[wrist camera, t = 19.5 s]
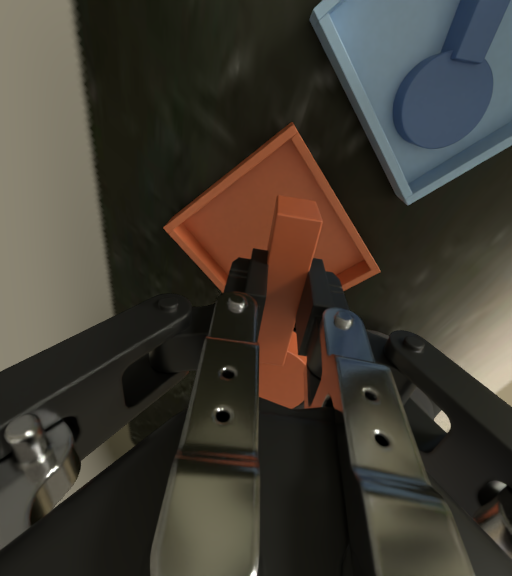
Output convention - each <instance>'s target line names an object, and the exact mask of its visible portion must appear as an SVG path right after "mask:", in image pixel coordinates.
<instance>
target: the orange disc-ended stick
mask: <svg viewBox="0 0 512 576" xmlns="http://www.w3.org/2000/svg"><path fill="white" fill-rule="evenodd" d="M322 223H323V221H322V218H321V215H320V212H319V209H318V207H317V204H316V202H315V201H312V200H305V199H299V198H293V197H287V196H281V195H277V197H276V203H275V208H274V214H273V219H272V225H271V231H270V236H269V242H268V247H267V250H268V257H267V264H268V265H269V266H268V281H267V295H266V301H265V306H264V311H263V317H262V322H261V327H260V332H259V337H258V343H259V345H260V354H259V397H261V398H264V399H266V400H269V401H271V402H274V403H277V404H279V405H282V406H284V407H287V408H290V409H293V408H294V407H296V406H298V405H299V404H300V403H302V402H303V401H304V368H305V365H306V362H307V356H301V355H298V349H297V334H296V333H295V332H294V331H293V329H294V326H295V322H296V319H295V318H296V314H297V310H298V307H299V303H300V299H301V296H302V292H303V289H304V285H305V281H306V278H307V274H308V271H310V267H311V263H312V260H313V256H314V253H315V249H316V245H317V242H318V238H319V234H320V231H321V227H322Z"/></svg>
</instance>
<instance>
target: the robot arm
mask: <svg viewBox="0 0 512 576" xmlns="http://www.w3.org/2000/svg"><path fill="white" fill-rule="evenodd" d="M267 257H268V250H262V249H256V248H253V250H252V255H251V259H247V258H241V257H238V258H237V259H236V260H234V261H233V262H232V264H231V268H230V271H229V275H228V278H227V282H226V285H225V288H224V292H223V294H221V295H220V296H218V298H217V299H216V303H214V304H212V305H209V306H202V307H192V305H191V303H190V301H189V300H188V299H187V298H185V297H184V296H181V295H178V294H160V295H157V296H155V297H152V298H150V299H148V300H146V301H144V302H142V303H140V304H138V305H136V306H134V307H132V308H130V309H128V310H126V311H124V312H122V313H120V314H118V315H115V316H113V317H111V318H109V319H107V320H105V321H103V322H101V323H99V324H97V325H95V326H93V327H91V328H89V329H87V330H85V331H83V332H81V333H79V334H77V335H75V336H72V337H70V338H69V339H66V340H64V341H62V342H60V343H58V344H56V345H54V346H52V347H50V348H48V349H46V350H44V351H42V352H40V353H38V354H36V355H34V356H31V357H29V358H27V359H25V360H23V361H21V362H19V363H18V364H15V365H13V366H11V367H9V368H7V369H5V370H3V371H1V372H0V576H512V407H511V406H510V405H508V404H507V403H506V402H505V401H503V400H502V399H501V398H499V397H498V396H497V395H496V394H494V393H493V392H492V391H490V390H489V389H488V388H487V387H485V386H484V385H483V384H481V383H480V382H479V381H478V380H476V379H475V378H474V377H472V376H471V375H470V374H469V373H467V372H466V371H465V370H463V369H462V368H461V367H460V366H458V365H457V364H456V363H454V362H453V361H452V360H451V359H449V358H448V357H447V356H445V355H444V354H443V353H442V352H440V351H439V350H438V349H436V348H435V347H434V346H433V345H431V344H430V343H429V342H427V341H426V340H425V339H423V338H422V337H420V336H418V335H416V334H414V333H411V332H408V331H394V332H392V333H391V335H390V336H389V338H388V339H386V338H383V337H381V336H378V335H375V334H372V333H370V332H368V331H366V329H365V326H364V323H363V321H362V319H361V318H360V317H359V316H357V315H356V314H355V313H353V312H351V311H350V310H349V307H348V304H347V301H346V298H345V294H344V291H343V288H342V285H341V282H340V279H339V278H338V277H337V276H336V275H335V274H334V273H333V272H327V271H325V267H324V263H323V260H322V259H317V258H313V260H312V263H311V267H310V271H308V274H307V278H306V281H305V285H304V289H303V292H302V296H301V299H300V303H299V307H298V310H297V314H296V318H295V319H296V334H297V349H298V355H301V356H307V362H306V365H305V368H304V409H290V408H287V407H284V406H282V405H279V404H277V403H274V402H271V401H269V400H266V399H264V398H261V397H259V354H260V345H259V343H258V337H259V332H260V327H261V322H262V317H263V311H264V306H265V301H266V295H267V281H268V266H269V265H268V264H267ZM147 353H148V354H147ZM144 355H145V356H144ZM133 362H134V363H133ZM193 370H197V373H196V377H195V381H194V385H193V389H192V393H191V398H190V402H189V406H188V409H185V410H183V411H182V412H180V413H178V414H177V415H175V416H173V417H172V418H171V419H169V420H168V421H167V422H165V423H164V424H163V425H162V426H160V427H159V428H158V429H156V430H155V431H154V432H152V433H151V434H150V435H149V436H147V437H146V438H145V439H143V440H142V441H141V442H140V443H138V444H137V445H136V446H134V447H133V448H132V449H131V450H129V451H128V452H127V453H125V454H124V455H123V456H121V457H120V458H119V459H118V460H116V461H115V462H114V463H112V464H111V465H110V466H108V467H107V468H106V469H105V470H103V471H102V472H101V473H99V474H98V475H97V476H96V477H94V478H93V479H92V480H90V481H89V482H88V483H86V484H85V485H84V486H83V487H81V488H80V489H79V490H77V491H76V492H75V493H74V494H72V495H71V496H70V497H68V498H67V499H66V500H64V501H63V502H62V503H61V504H59V505H58V506H57V507H55V505H56V504H57V503H58V502H59V501H60V500H61V499H62V498H63V497H64V496H65V494H66V493H67V492H68V491H69V490H70V488H71V487H72V486H73V485H74V483H75V481H76V480H77V477H78V475H79V472H80V468H81V460H83V459H84V458H85V457H86V456H88V455H89V454H90V453H91V452H92V451H94V450H95V449H96V448H97V447H99V446H100V445H101V444H102V443H104V442H105V441H106V440H107V439H109V438H110V437H111V436H112V435H114V434H115V433H116V432H117V431H119V430H120V429H121V428H122V427H124V426H125V425H126V424H127V423H129V422H130V421H131V420H132V419H134V418H135V417H136V416H137V415H139V414H140V413H141V412H142V411H144V410H145V409H146V408H147V407H148V406H150V405H151V404H152V403H153V402H155V401H156V400H157V399H158V398H160V397H161V396H162V395H163V394H165V393H166V392H167V391H168V390H170V389H171V388H172V387H173V386H175V385H176V384H177V383H178V382H180V381H181V380H182V379H183V378H184V377H185V376H186V375H187V374H188V372H189V371H193ZM416 387H418V388H419V389H420V390H421V391H422V392H423V393H424V394H425V395H426V396H427V397H428V398H429V399H431V400H432V401H433V402H434V403H435V404H436V405H437V406H438V407H439V408H440V409H441V410H442V411H443V412H444V413H445V414H446V415H447V416H448V418H449V420H450V423H451V429H450V431H449V432H448V433H446V432H445V431H444V430H443V429H442V428H441V427H440V426H439V425H438V424H436V423H435V422H434V421H433V420H432V419H431V418H430V417H429V416H428V415H427V414H426V413H425V412H424V411H423V410H422V409H421V408H420V407H419V406H418V405H417V404H416V403H415V402H414V401H413V400H412V399H411V398H410V396H411V394H412V393H413V391H414V390H415V388H416ZM54 507H55V508H54ZM53 508H54V509H53Z"/></svg>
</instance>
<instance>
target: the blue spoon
mask: <svg viewBox="0 0 512 576" xmlns="http://www.w3.org/2000/svg"><path fill="white" fill-rule="evenodd" d="M510 1H511V0H460V3H459V5H458V8H457V10H456V13H455V16H454V18H453V21H452V24H451V26H450V29H449V31H448V34H447V37H446V39H445V42H444V45H443V47H442V50H441V52H440V53H438V54H435V55H432V56H430V57H428V58H426V59H424V60H423V61H421V62H420V63H418V64H417V65H416V66H415V67H414V68H413V69H412V70H411V71H410V72H409V73H408V74H407V76H406V77H405V78H404V80H403V81H402V83H401V85H400V86H399V88H398V91H397V93H396V96H395V99H394V104H393V121H394V125H395V128H396V130H397V132H398V133H399V135H400V136H401V137H402V138H403V139H404V140H405V141H407V142H409V143H411V144H414V145H416V146H419V147H422V148H426V149H439V148H444V147H447V146H450V145H452V144H454V143H456V142H458V141H459V140H461V139H462V138H464V137H465V136H466V135H468V134H469V133H470V132H471V131H472V130H473V129H474V128H475V127H476V126H477V124H478V123H479V122H480V121H481V119H482V118H483V116H484V114H485V112H486V111H487V108H488V106H489V104H490V101H491V98H492V93H493V74H492V70H491V68H490V65H489V64H488V62H487V61H486V59H485V56H486V54H487V52H488V50H489V47H490V45H491V43H492V41H493V38H494V36H495V34H496V32H497V30H498V27H499V25H500V23H501V21H502V18H503V16H504V14H505V12H506V10H507V7H508V5H509V3H510Z"/></svg>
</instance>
